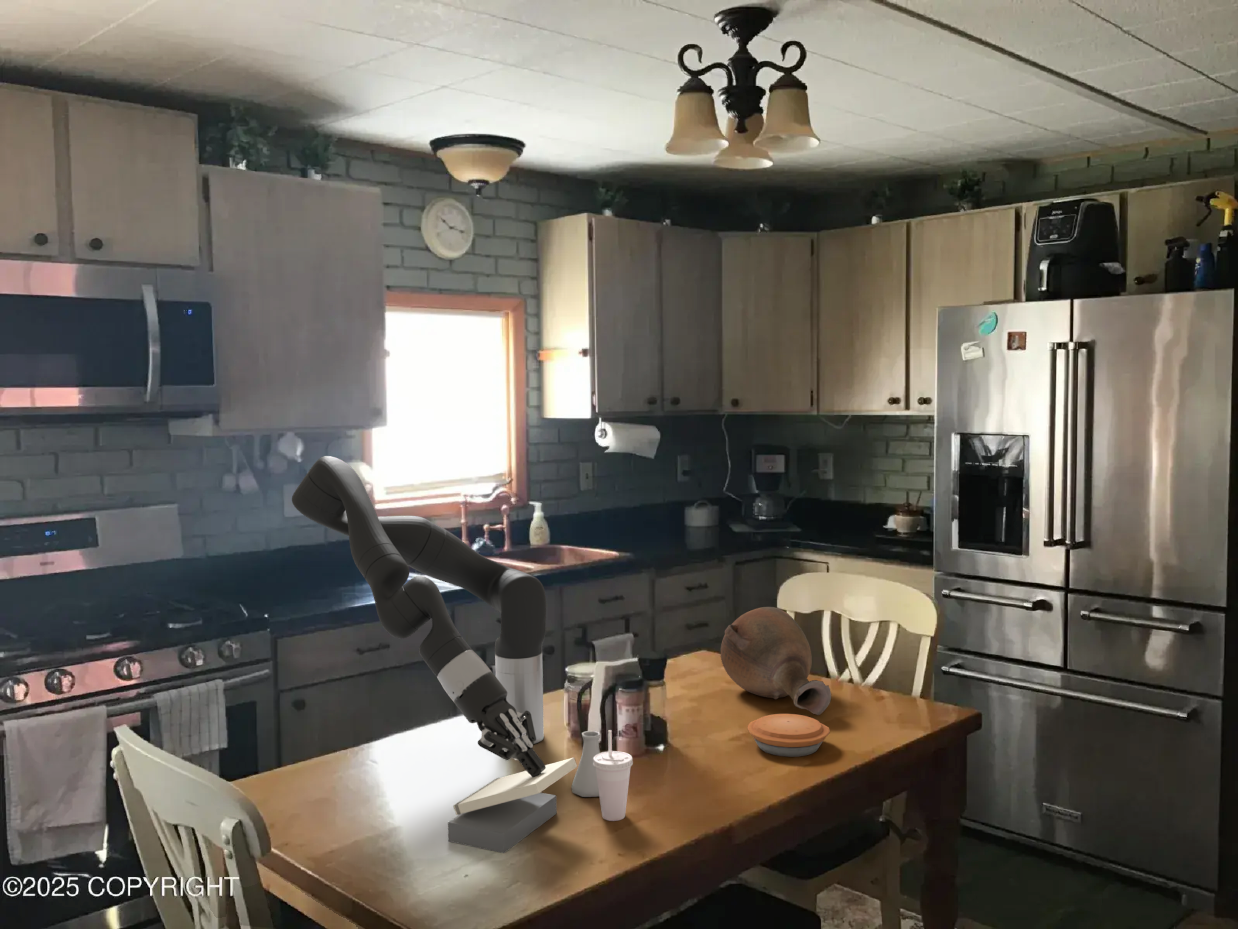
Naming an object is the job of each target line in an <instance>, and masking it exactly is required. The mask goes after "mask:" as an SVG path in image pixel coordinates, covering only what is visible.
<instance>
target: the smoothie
mask: <svg viewBox="0 0 1238 929" xmlns="http://www.w3.org/2000/svg"><path fill="white" fill-rule="evenodd" d="M607 732H608V734H607V740H608V744H607V745H608V750H607V751H602V752H600V753H599V754H597V755H595V756H594V758H593V760H594V762H593V765H594V766H595V767H596V775H597V782H598V789H599V796H598V797H599V803H600V809H601V817H602V819H604V820H606V821H609V822H615V821H621V820H623V819H624V818H625V817H626V810H627V800H628V792H629V786H630V785H629V783H630V777H631V776H630V775H631V767H632V766H633V764H634V761H633V756H632V755H631V754H629V753H628V752H624V751H618V750H617V751H616V750H613V745H612V744H613V739H612V737H613V734H612V732H613V731H612V729H608V731H607Z"/></svg>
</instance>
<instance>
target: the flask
mask: <svg viewBox="0 0 1238 929" xmlns="http://www.w3.org/2000/svg"><path fill="white" fill-rule="evenodd" d="M581 737H582V739H583V747H582V751H581V752H582V754H581V757H580V760H579V762H578V765H577V769H576V771H575V774H574V778H573V780H572V784H571V793H573V794H575V795H577V796H580V797H581V798H591V797H599V789H598V782H597V775H596V767H595V766H594V765H593V762H594V760H593V758H594V756H595V755H597V754H599V753H601V751H600V747H599V746H600V743H599V741H600V740H599V739H600V738H601V733H600V732H599V731H596V730H587V731H583V732H581Z"/></svg>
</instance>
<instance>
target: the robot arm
mask: <svg viewBox="0 0 1238 929" xmlns="http://www.w3.org/2000/svg"><path fill="white" fill-rule="evenodd" d="M291 502H292V504H293V506H294V508H295V509H296V510H297V511H298V512H299V513H300V514H302V515H303V516H304V517H306V518H307V519H309V520H310V521H313V522H315V523H317V524H319V525H321V526H323V527H325V528H328V529H329V530H333V531H335V532H338V533H340V534H343V535H345V536H348V538H349V540H348V541H349V549H350V552H351V556H352V560H353V561H354V564H355V566H356V567H357V569H358V570H359V572H360V574H361V575H362V576H363V578H364V580H365V581H366V583H367V584H368V585H369V587H370V590H371V593H372V596H373V601H374V604H375V608H376V612H377V616H378V619H379V622H380V624H381V626H382V627H383V629H384V630H385V632H386V633H388V635H390V636H391V637H393V638H396V639H399V640H400V639H401V640H402V639H407V638H409V637H411V636H412V635H414V634H415V633H416V632H417V631H418V630H419V629H421V627H423V626H424V625H425V624H427V622H429V621H430V620H431V629H430V630H429V633H428V634H427V635H426V636H425V638H424V639H423V640H422V642H421V644H420V645H419V646H418V647H419V648H418V654H419V655H420V657H421V659H422V660H423V661H424V662H425V664H426V665H427V667H428V668H429V669H430V671H431V672H432V673H433V675H434V676H435V677H436V678H437V680H438V681H439V683H440V684H441V686H442V688H443V690H444V692H446V694H447V695H448V697H449V698H450V699H451V700H452V701H453V703H454V704H455V706H456V707H457V708H458V710H459V711H460V712H461V713H462V715H463V716H464V718H465V719H466V720H467V721H468V723H470V724H475V723H476V724H477V727H478V730H479V731H480V732H481V737H480V738H479V740H478V741H477V745H478V746H479V747H481V748H482V749H484V750H486V751H487V752H490V753H491V754H494V755H496V756H497V757H500V758H501V759H503V760H505V761H509V760H511V759H513V760H515V761H518V762H519V763H520V764H521V766H522V767H523V769H524V771H527V772H528V773H529V774H530V775H531V776H532V777H536V776H537V775H539V774H540V773H541V772H543V771H544V770H545V768H546V767H545V765H546V764H545V763H544V761H543V760H542V758H541V757H540V756H539V755H538V754H537V752H536V751H535V749H534V748H533V747H534V744H535V745H536V744H537V743H539V742H542V741H543V740H544V738H545V737H544V736H545V734H544V729H545V728H544V683H543V682H544V678H543V676H544V674H543V671H544V670H543V643H544V641H545V638H546V629H547V627H546V625H547V624H546V623H547V597H546V590H545V588H544V585H543V583H542V582H541V580H540V579H538V578H537V577H535V576H534V575H531V574H529V573H527V572H524V571H521V570H519V569H515V568H512V567H509V566H507V565H504V564H502V563H498V562H497V561H494V560H492V559H490V558H487V557H486V556H484V555H482V554H480V553H479V552H477V551H476V550H474V549H473V548H472V547H471V546H469V545H468V544H467V543H466V542H465V541H463V540H462V539H461V538H459V537H457V535H455V534H453V533H452V532H451V531H449V530H447V529H445V528H444V527H442V526H441V525H440V526H439V525H437V524H436V523H435V522H433V521H430V520H429V519H427V518H425V517H422V516H417V515H416V516H415V515H389V516H378V515H377V512H376V510H375V506H374V504H373V503H372V501H371V498H370V496H369V494H368V491H367V489H366V487H365V485H364V483H363V481H362V479H361V478H360V476H359V475H358V473H357V471H355V469H353V468H352V466H351V465H349V464H348V463H347V462H346V461H343V460H342V459H340V458H337V457H335V456H330V455H324V456H321V457H320V458H318V459H317V460H316V461H315V462H314V463H313V464H312V466H311V467H310V468H309V470H308V472H307V473H306V475H305V476H304V478H302V480H301V482H300V483H299V485H298V486H297V488H295V491H294V492H293V494H292V497H291ZM410 568H412V569H413V570H416V571H418V572H419V573H422V574H424V575H426V576H428V577H426V576H422V575H416V576H414V577H411V578H410V579H409V580H408V578H409V576H410ZM429 577H431V578H433V579H435V580H439V581H441V582H444V583H447V584H450V585H454V586H457V587H459V588H462V589H463V590H465V591H467V592H469V593H471V594H472V595H473V596H475V597H477V598H478V599H480V600H482V601H483V602H484V603H485V604H487V605H489V606H490V607H492V609H494V610H495V611H496V612H497V613H499V614H500V633H499V634H500V635H499V636H498V637H497V638H496V639H495V643H494V657H495V658H494V660H495V662H494V663H495V668H494V669H495V674H494V673H493V671H492V670H491V669H490V668H489V666H488V665H487V664H486V662H485V661H484V660H483V658H481V657H480V656H479V655H478V654H477V653H476V652H475V651H474V650H473V648H471V646H470V645H469V644H468V643H467V641H466V639H465V638H464V637H463V636H462V634H461V633H460V632H459V631H458V628H456V626H455V623H454V622H453V619H452V618H451V616H450V614H449V611H448V609H447V606H446V603H445V600H444V598H443V596H442V592H441V591H440V589H439V587H438V586H437V584H436V583H435V582H434V581H433V580H431V579H430V578H429Z"/></svg>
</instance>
